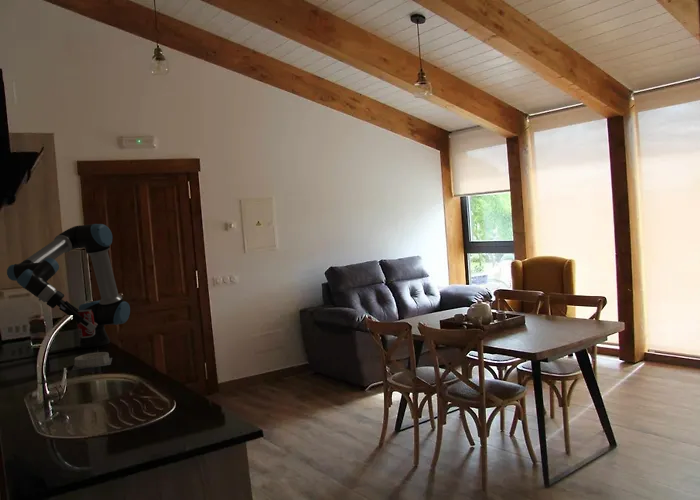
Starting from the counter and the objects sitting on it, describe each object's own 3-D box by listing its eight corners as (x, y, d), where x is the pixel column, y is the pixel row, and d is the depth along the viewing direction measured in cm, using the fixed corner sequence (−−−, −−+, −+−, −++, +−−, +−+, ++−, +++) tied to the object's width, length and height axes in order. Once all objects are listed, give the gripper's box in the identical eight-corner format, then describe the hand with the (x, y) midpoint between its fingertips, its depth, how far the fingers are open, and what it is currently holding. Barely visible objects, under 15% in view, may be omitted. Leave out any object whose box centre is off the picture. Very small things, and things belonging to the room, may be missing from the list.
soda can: (98, 334, 279) (96, 308, 278) (90, 337, 272) (87, 311, 271) (84, 335, 280) (81, 309, 279) (75, 338, 272) (72, 312, 272)
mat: (75, 363, 282) (75, 363, 282) (112, 358, 287) (112, 357, 287) (71, 371, 266) (71, 370, 266) (110, 365, 271) (110, 364, 271)
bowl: (77, 363, 281) (76, 355, 281) (109, 358, 285) (109, 350, 285) (74, 369, 268) (73, 361, 267) (108, 364, 272) (107, 356, 272)
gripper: (49, 300, 279) (91, 331, 285) (41, 305, 260) (87, 338, 266) (60, 287, 281) (102, 318, 287) (54, 292, 262) (98, 324, 268)
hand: (95, 327), depth 276 cm, fingers closed on soda can, 7 cm apart
